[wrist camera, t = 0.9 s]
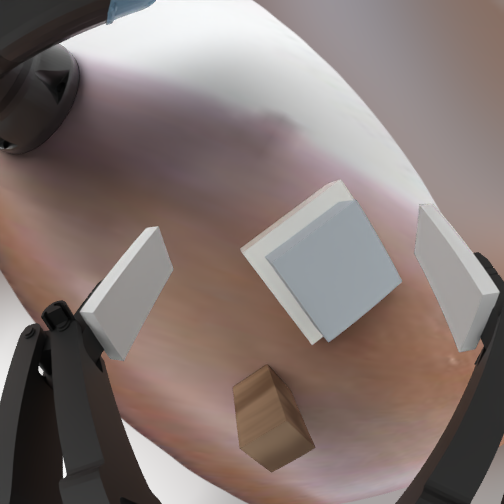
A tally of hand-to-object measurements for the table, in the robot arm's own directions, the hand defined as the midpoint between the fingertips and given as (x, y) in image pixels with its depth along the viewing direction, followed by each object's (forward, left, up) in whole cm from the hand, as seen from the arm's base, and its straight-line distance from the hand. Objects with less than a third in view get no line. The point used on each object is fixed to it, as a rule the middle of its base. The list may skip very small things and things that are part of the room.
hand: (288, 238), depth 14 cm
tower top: (+7, +4, -14) cm, 16 cm away
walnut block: (+16, -10, -17) cm, 26 cm away
